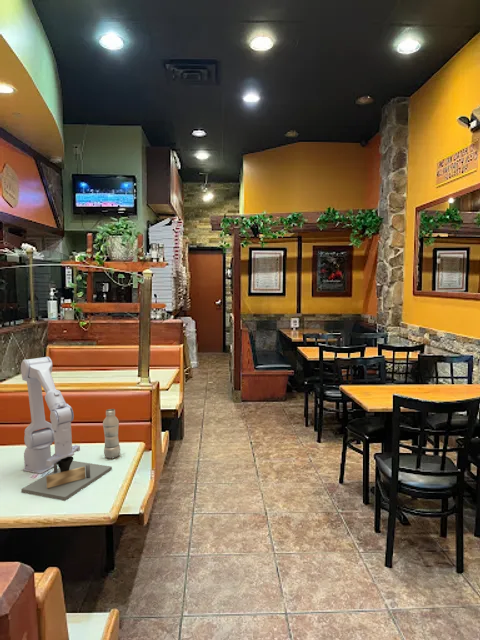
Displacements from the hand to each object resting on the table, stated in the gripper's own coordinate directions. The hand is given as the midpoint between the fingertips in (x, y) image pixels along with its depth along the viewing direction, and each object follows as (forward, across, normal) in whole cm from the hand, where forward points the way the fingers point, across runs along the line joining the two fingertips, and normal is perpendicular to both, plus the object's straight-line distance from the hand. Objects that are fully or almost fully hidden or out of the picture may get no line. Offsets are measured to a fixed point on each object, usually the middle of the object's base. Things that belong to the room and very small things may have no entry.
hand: (64, 477), depth 151 cm
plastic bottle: (+3, +26, -1) cm, 26 cm away
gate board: (+3, +3, +1) cm, 4 cm away
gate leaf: (+1, -1, -2) cm, 2 cm away
